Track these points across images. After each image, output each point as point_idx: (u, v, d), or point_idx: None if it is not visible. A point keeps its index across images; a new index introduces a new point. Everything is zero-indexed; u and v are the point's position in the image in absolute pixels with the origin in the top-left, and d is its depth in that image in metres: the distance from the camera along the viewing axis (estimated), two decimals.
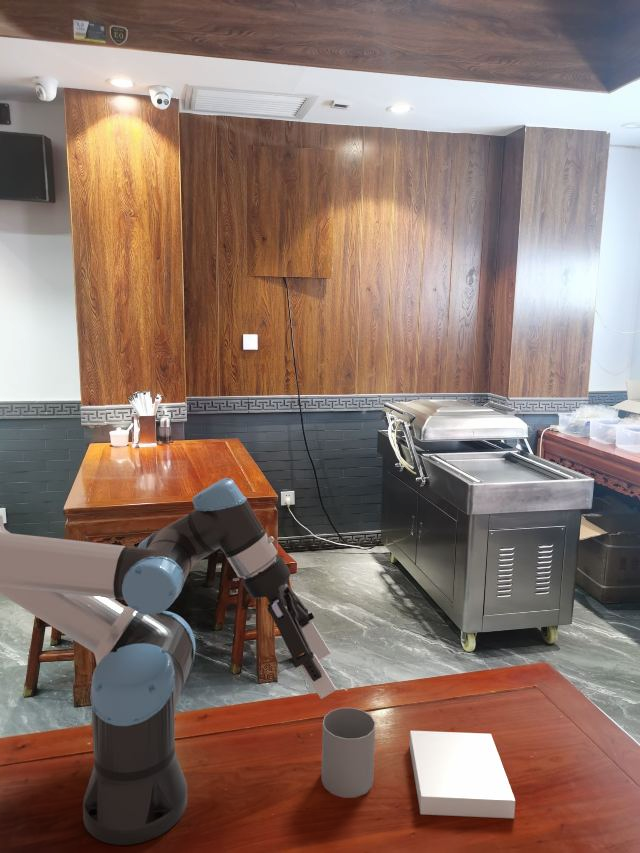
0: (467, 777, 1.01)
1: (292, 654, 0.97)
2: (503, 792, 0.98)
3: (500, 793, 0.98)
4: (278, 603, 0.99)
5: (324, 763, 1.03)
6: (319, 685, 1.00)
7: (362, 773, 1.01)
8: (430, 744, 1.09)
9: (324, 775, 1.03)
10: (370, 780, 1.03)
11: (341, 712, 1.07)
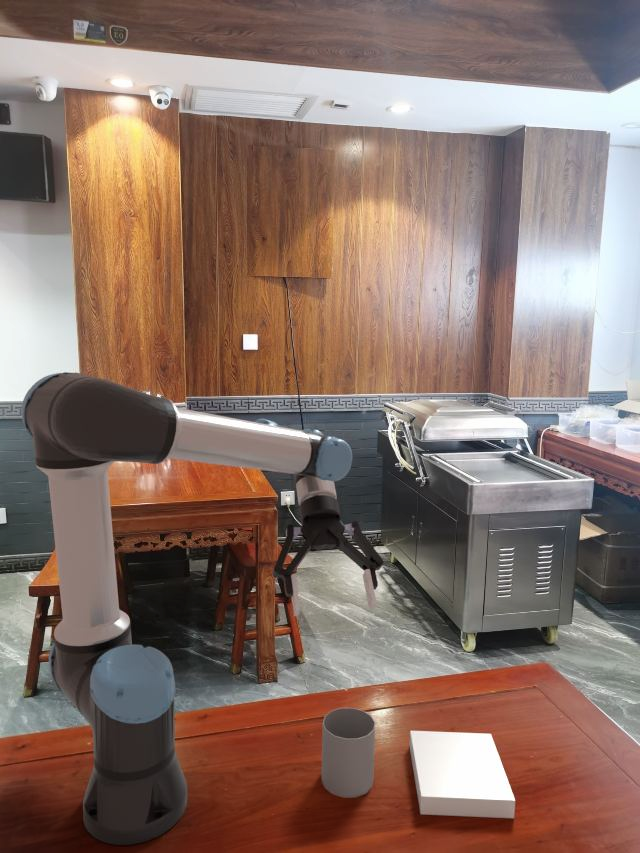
0: (467, 777, 1.01)
1: None
2: (503, 792, 0.98)
3: (500, 793, 0.98)
4: None
5: (324, 763, 1.03)
6: None
7: (362, 773, 1.01)
8: (430, 744, 1.09)
9: (324, 775, 1.03)
10: (370, 780, 1.03)
11: (341, 712, 1.07)
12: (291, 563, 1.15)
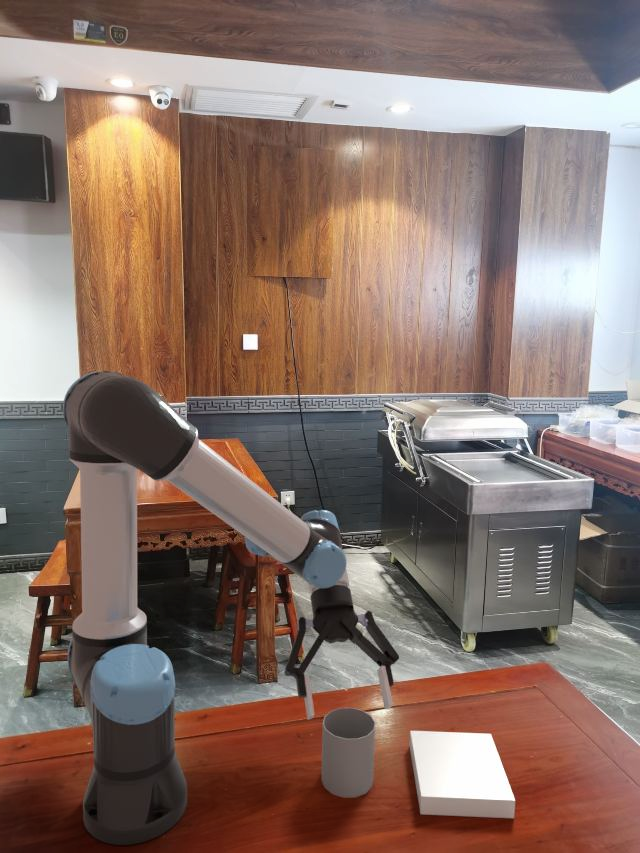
0: (467, 777, 1.01)
1: (393, 648, 1.15)
2: (503, 792, 0.98)
3: (500, 793, 0.98)
4: None
5: (324, 763, 1.03)
6: None
7: (362, 773, 1.01)
8: (430, 744, 1.09)
9: (324, 775, 1.03)
10: (370, 780, 1.03)
11: (341, 712, 1.07)
12: (304, 661, 1.10)
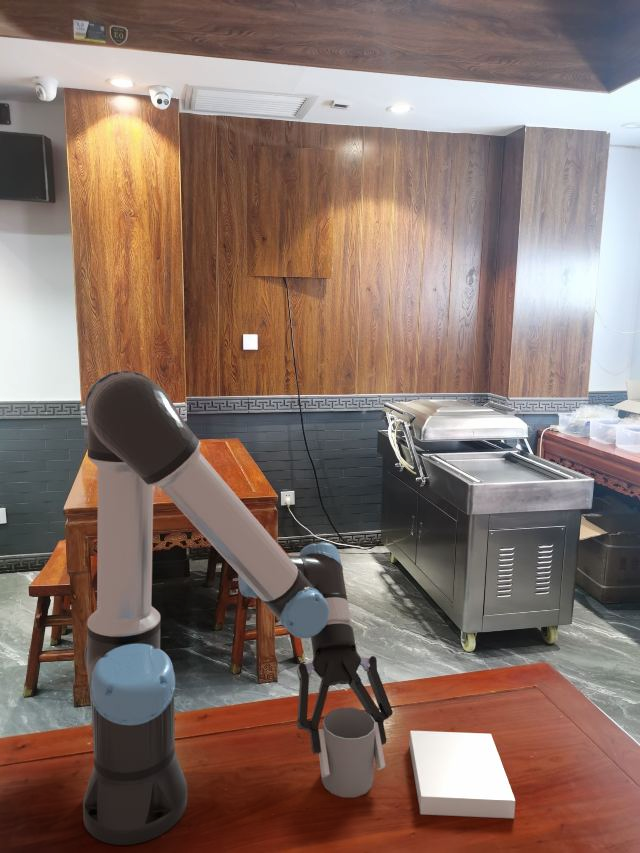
0: (467, 777, 1.01)
1: (389, 703, 1.07)
2: (503, 792, 0.98)
3: (500, 793, 0.98)
4: None
5: None
6: None
7: (362, 773, 1.01)
8: (430, 744, 1.09)
9: None
10: (370, 780, 1.03)
11: (341, 712, 1.07)
12: (315, 713, 1.04)
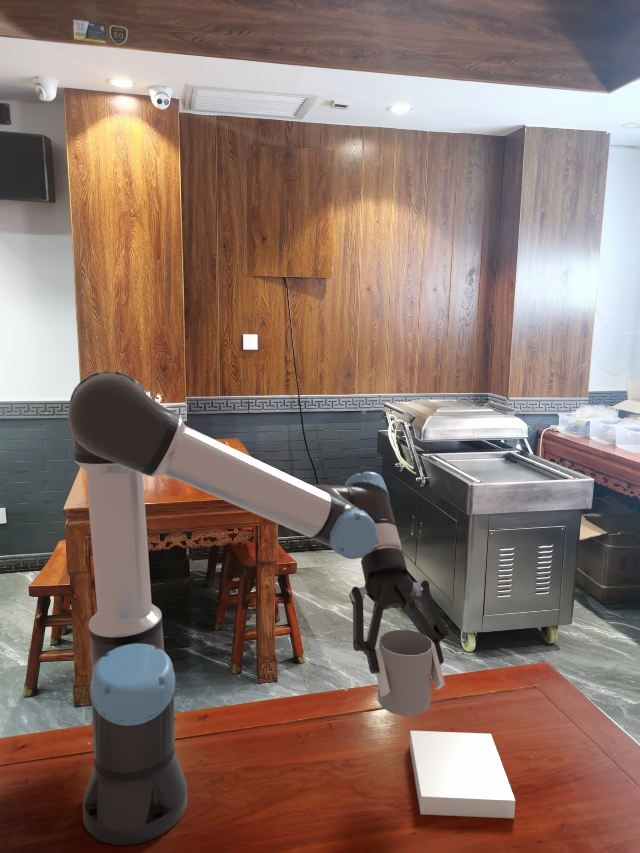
0: (467, 777, 1.01)
1: None
2: (503, 792, 0.98)
3: (500, 793, 0.98)
4: None
5: None
6: None
7: (421, 691, 1.00)
8: (430, 744, 1.09)
9: None
10: (428, 699, 1.02)
11: (396, 635, 1.06)
12: (372, 634, 1.03)
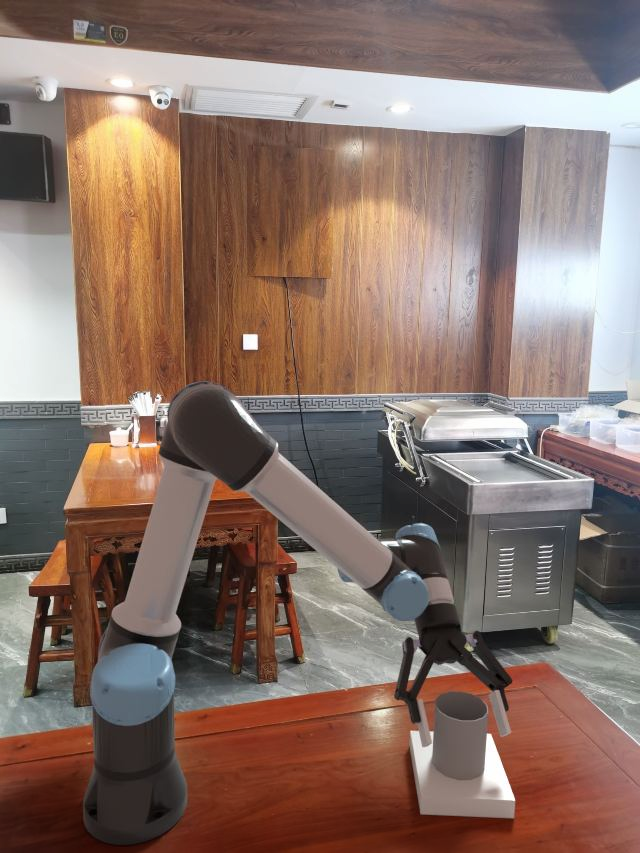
0: None
1: (505, 671, 1.08)
2: (503, 792, 0.98)
3: (500, 793, 0.98)
4: None
5: (437, 746, 1.03)
6: None
7: (477, 755, 1.01)
8: (430, 744, 1.09)
9: (437, 758, 1.03)
10: (483, 763, 1.03)
11: (449, 696, 1.07)
12: (416, 685, 1.04)
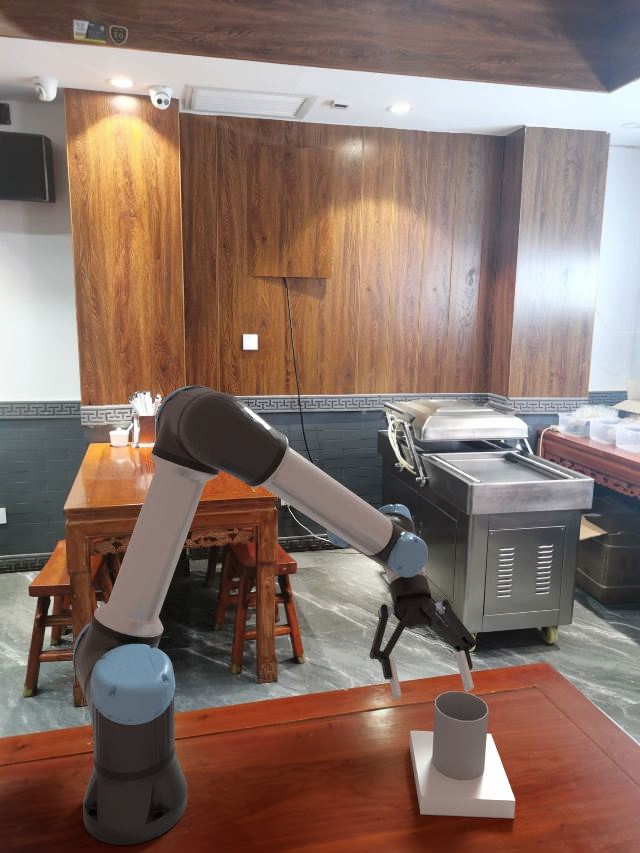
0: None
1: (470, 635, 1.21)
2: (503, 792, 0.98)
3: (500, 793, 0.98)
4: None
5: (437, 746, 1.03)
6: None
7: (477, 755, 1.01)
8: (430, 744, 1.09)
9: (437, 758, 1.03)
10: (483, 763, 1.03)
11: (449, 696, 1.07)
12: (388, 645, 1.17)
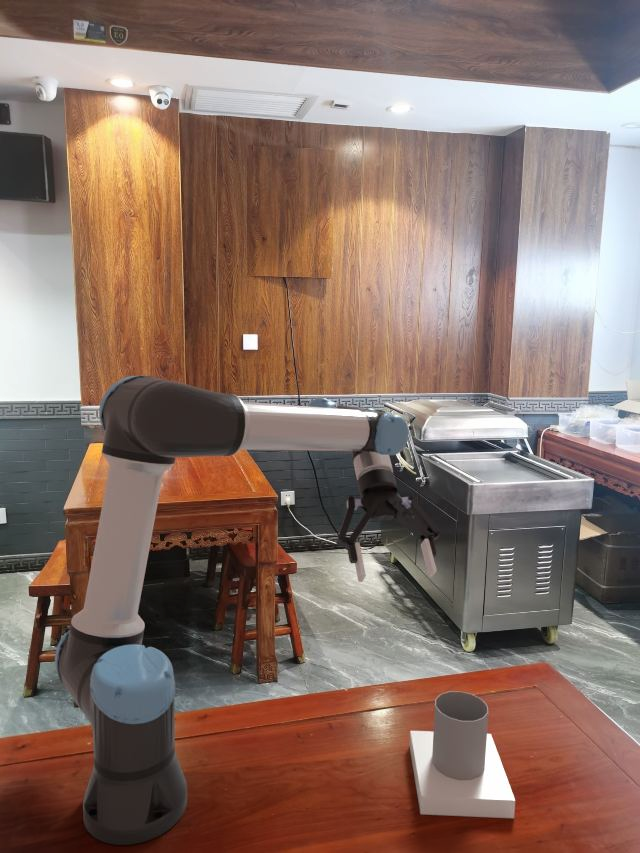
0: None
1: None
2: (503, 792, 0.98)
3: (500, 793, 0.98)
4: None
5: (437, 746, 1.03)
6: None
7: (477, 755, 1.01)
8: (430, 744, 1.09)
9: (437, 758, 1.03)
10: (483, 763, 1.03)
11: (449, 696, 1.07)
12: (354, 532, 1.20)
